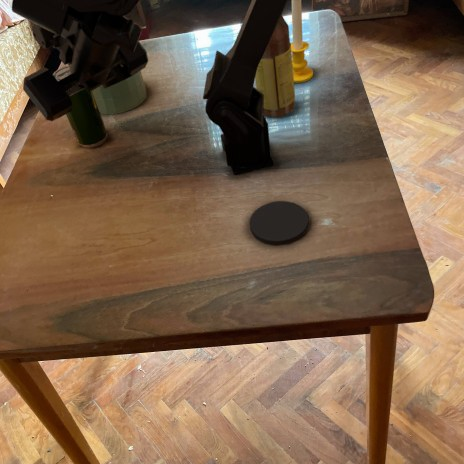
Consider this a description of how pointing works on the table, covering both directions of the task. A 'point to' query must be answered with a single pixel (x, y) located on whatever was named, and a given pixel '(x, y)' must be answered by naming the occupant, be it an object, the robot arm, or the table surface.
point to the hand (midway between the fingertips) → (80, 98)
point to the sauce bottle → (277, 73)
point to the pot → (121, 95)
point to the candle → (299, 46)
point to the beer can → (84, 115)
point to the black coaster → (279, 223)
